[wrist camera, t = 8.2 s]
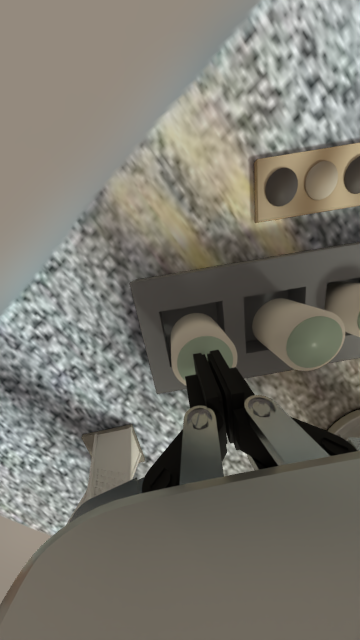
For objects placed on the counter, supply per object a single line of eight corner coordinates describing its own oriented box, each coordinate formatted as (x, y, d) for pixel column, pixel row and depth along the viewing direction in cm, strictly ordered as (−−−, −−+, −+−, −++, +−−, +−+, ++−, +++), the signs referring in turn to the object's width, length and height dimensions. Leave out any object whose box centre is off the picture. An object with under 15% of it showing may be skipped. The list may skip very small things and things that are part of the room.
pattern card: (379, 142, 16) (390, 136, 16) (370, 203, 18) (379, 201, 17) (254, 163, 16) (258, 158, 15) (255, 223, 18) (259, 221, 17)
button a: (351, 319, 20) (403, 335, 16) (310, 326, 20) (351, 344, 16) (357, 277, 19) (416, 282, 14) (314, 285, 19) (360, 292, 14)
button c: (222, 354, 18) (240, 385, 13) (175, 362, 18) (177, 396, 13) (217, 308, 16) (236, 325, 12) (166, 317, 16) (165, 338, 12)
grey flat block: (373, 239, 19) (417, 234, 16) (356, 339, 23) (389, 352, 19) (136, 279, 19) (129, 283, 15) (158, 374, 22) (156, 394, 19)
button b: (299, 340, 18) (343, 366, 13) (253, 348, 18) (281, 377, 13) (302, 294, 16) (352, 305, 12) (251, 303, 16) (283, 317, 12)
